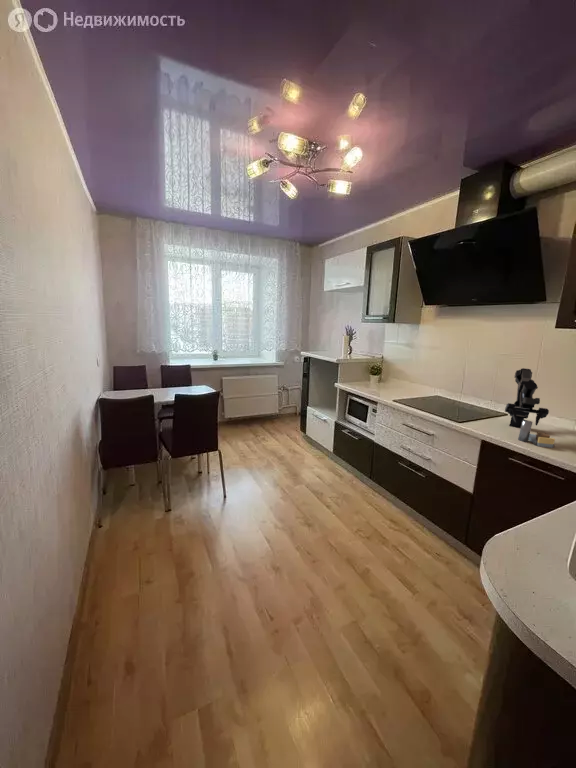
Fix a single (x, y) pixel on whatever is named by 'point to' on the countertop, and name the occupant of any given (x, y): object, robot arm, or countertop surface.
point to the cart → (542, 441)
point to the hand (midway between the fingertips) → (526, 423)
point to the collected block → (542, 435)
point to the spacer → (525, 431)
